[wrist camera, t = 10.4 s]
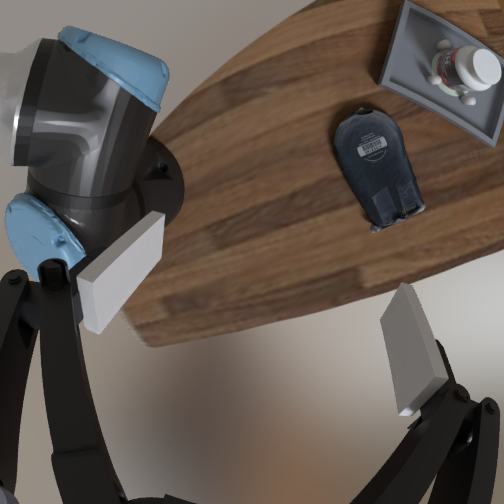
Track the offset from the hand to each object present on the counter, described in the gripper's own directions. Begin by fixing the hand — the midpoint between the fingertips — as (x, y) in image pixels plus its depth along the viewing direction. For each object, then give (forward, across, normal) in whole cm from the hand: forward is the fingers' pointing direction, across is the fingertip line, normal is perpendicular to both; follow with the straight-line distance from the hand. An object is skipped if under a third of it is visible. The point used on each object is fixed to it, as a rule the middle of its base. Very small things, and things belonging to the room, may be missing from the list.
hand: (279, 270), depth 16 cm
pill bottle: (+25, +16, +20) cm, 36 cm away
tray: (+26, +16, +20) cm, 36 cm away
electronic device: (+26, +10, +4) cm, 29 cm away
